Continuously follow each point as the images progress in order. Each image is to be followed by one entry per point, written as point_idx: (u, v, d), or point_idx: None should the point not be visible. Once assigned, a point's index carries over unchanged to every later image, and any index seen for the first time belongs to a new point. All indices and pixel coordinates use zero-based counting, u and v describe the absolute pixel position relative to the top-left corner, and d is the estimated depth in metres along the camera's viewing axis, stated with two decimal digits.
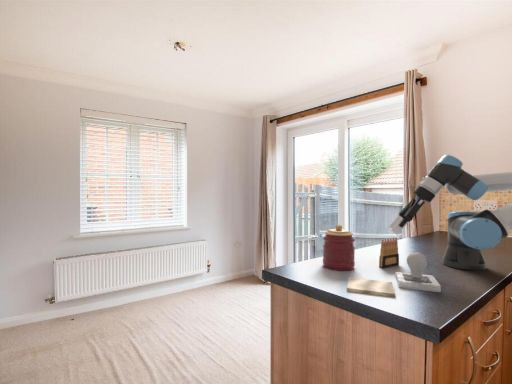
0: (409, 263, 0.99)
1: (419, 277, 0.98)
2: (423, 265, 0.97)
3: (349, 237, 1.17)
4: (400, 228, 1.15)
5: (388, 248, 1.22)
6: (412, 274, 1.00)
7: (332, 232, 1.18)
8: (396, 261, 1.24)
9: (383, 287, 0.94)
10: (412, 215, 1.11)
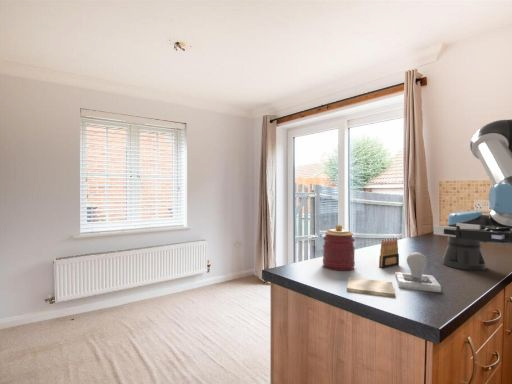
0: (409, 263, 0.99)
1: (419, 277, 0.98)
2: (423, 265, 0.97)
3: (349, 237, 1.17)
4: None
5: (388, 248, 1.22)
6: (412, 274, 1.00)
7: (332, 232, 1.18)
8: (396, 261, 1.24)
9: (383, 287, 0.94)
10: None
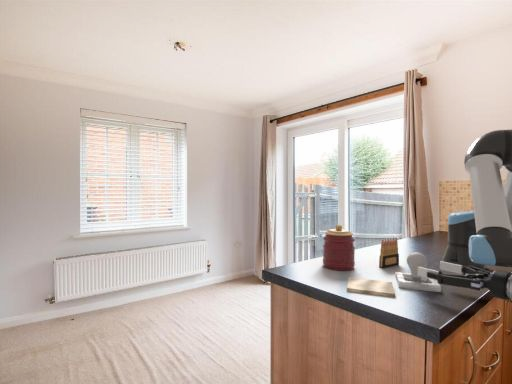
0: (409, 263, 0.99)
1: (419, 277, 0.98)
2: (423, 265, 0.97)
3: (349, 237, 1.17)
4: None
5: (388, 248, 1.22)
6: (412, 274, 1.00)
7: (332, 232, 1.18)
8: (396, 261, 1.24)
9: (383, 287, 0.94)
10: None
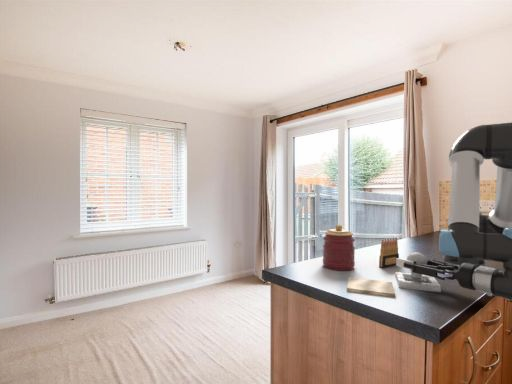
0: None
1: (419, 277, 0.98)
2: None
3: (349, 237, 1.17)
4: None
5: (388, 248, 1.22)
6: (412, 274, 1.00)
7: (332, 232, 1.18)
8: None
9: (383, 287, 0.94)
10: None
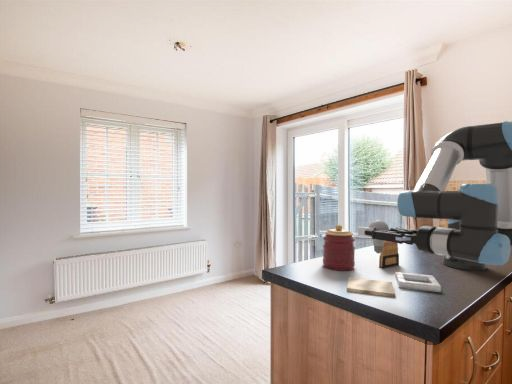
0: None
1: (381, 245, 0.94)
2: None
3: (349, 237, 1.17)
4: None
5: (388, 248, 1.22)
6: (374, 243, 0.95)
7: (332, 232, 1.18)
8: (396, 261, 1.24)
9: (383, 287, 0.94)
10: None
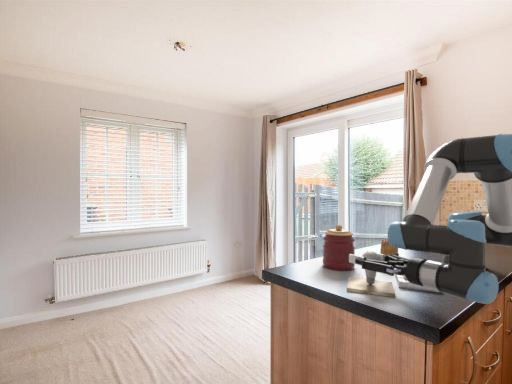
0: None
1: (373, 277, 0.95)
2: None
3: (349, 237, 1.17)
4: None
5: (388, 248, 1.22)
6: (366, 274, 0.96)
7: (332, 232, 1.18)
8: None
9: (383, 287, 0.94)
10: None
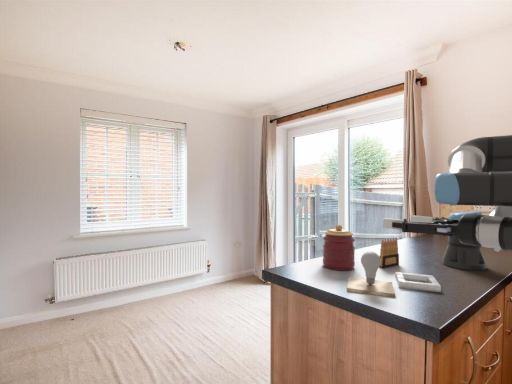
0: (362, 263, 0.95)
1: (373, 277, 0.95)
2: (376, 264, 0.93)
3: (349, 237, 1.17)
4: None
5: (388, 248, 1.22)
6: (366, 274, 0.96)
7: (332, 232, 1.18)
8: (396, 261, 1.24)
9: (383, 287, 0.94)
10: None
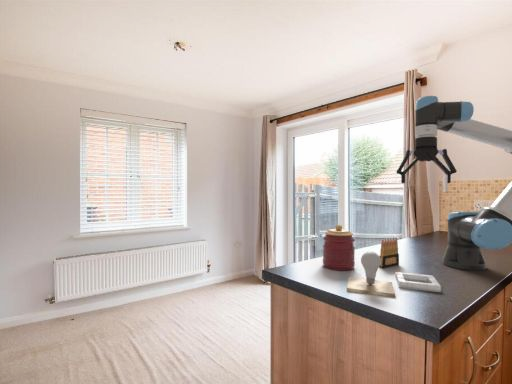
0: (362, 263, 0.95)
1: (373, 277, 0.94)
2: (376, 264, 0.93)
3: (349, 237, 1.17)
4: None
5: (388, 248, 1.22)
6: (366, 274, 0.96)
7: (332, 232, 1.18)
8: (396, 261, 1.24)
9: (383, 287, 0.94)
10: None
